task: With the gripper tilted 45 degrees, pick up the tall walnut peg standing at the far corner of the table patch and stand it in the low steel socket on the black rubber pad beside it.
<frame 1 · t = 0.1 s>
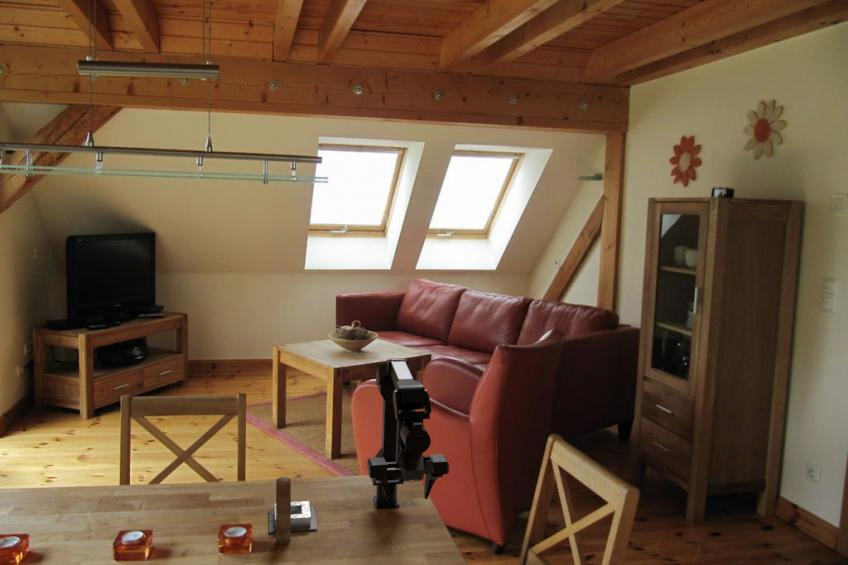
hand: (406, 499, 166), 14 cm above the table, tool pointing down, fingers open, 9 cm apart
steel socket: (292, 520, 184), on the table
walnut peg: (283, 541, 173), on the table
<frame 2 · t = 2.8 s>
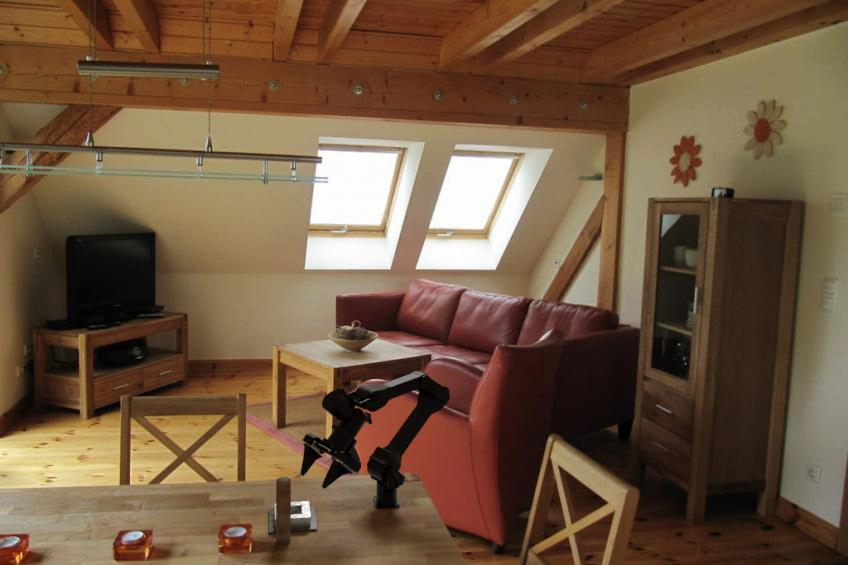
hand: (312, 481, 177), 13 cm above the table, tool tilted 45°, fingers open, 9 cm apart
nothing on the table moved.
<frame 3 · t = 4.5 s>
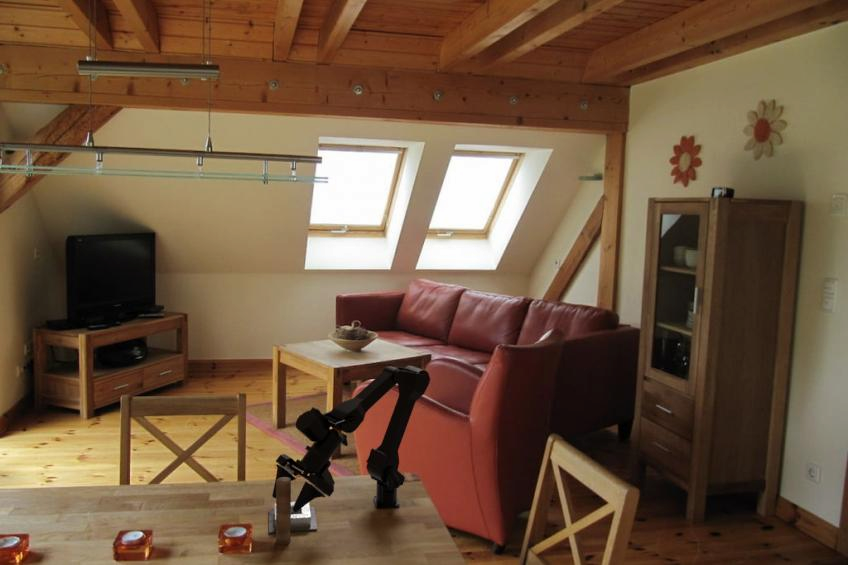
hand: (283, 504, 172), 10 cm above the table, tool tilted 45°, fingers open, 9 cm apart
nothing on the table moved.
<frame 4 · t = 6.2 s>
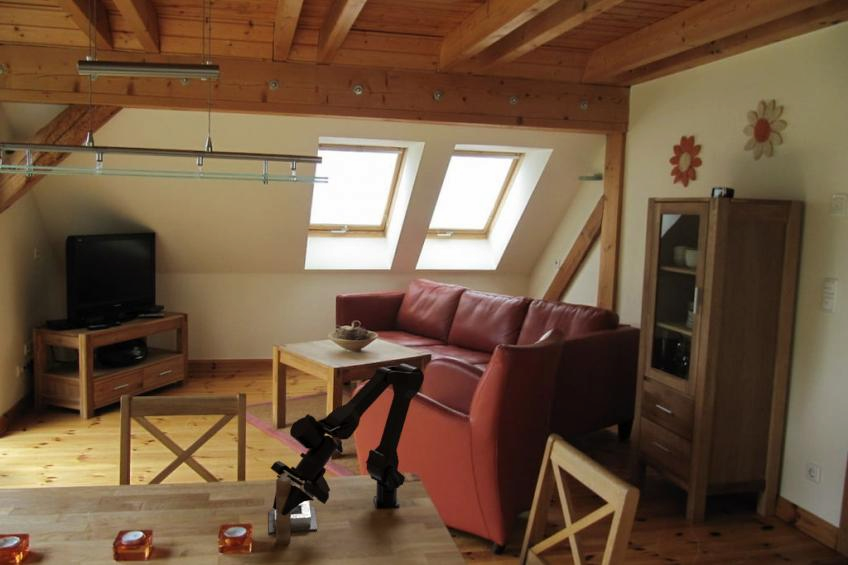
hand: (278, 511, 171), 8 cm above the table, tool tilted 45°, fingers closed on walnut peg, 3 cm apart
walnut peg: (283, 541, 173), on the table, touching gripper
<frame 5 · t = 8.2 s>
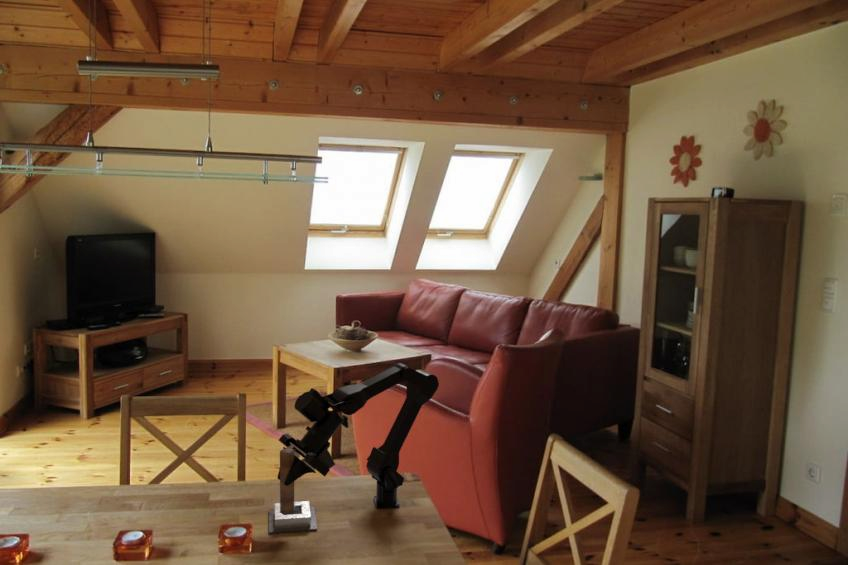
hand: (282, 482, 176), 13 cm above the table, tool tilted 45°, fingers closed on walnut peg, 3 cm apart
walnut peg: (287, 511, 178), point 5 cm above the table, touching gripper
when the fingers open (10 cm above the table, at t = 10.4 s): walnut peg stays where it is, resting on steel socket.
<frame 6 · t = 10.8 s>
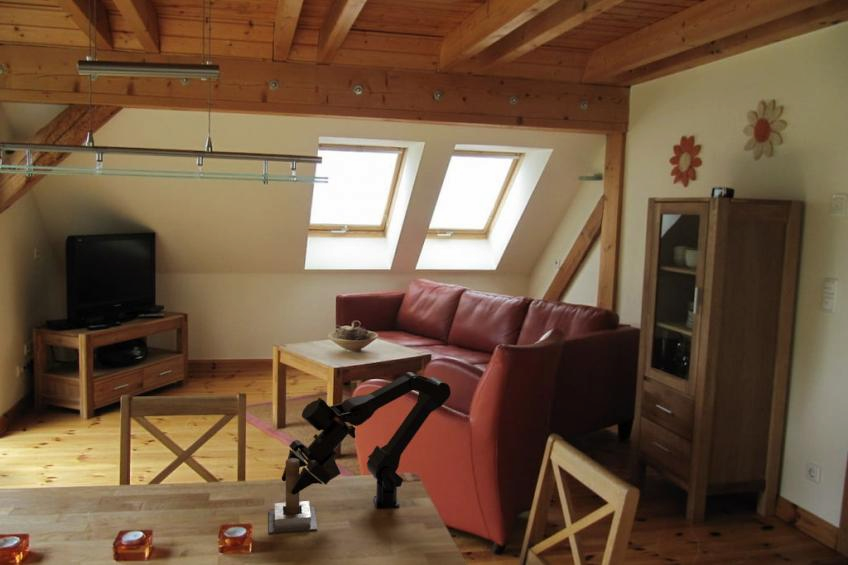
hand: (287, 486, 181), 10 cm above the table, tool tilted 45°, fingers open, 8 cm apart
walnut peg: (292, 518, 184), point 1 cm above the table, touching steel socket
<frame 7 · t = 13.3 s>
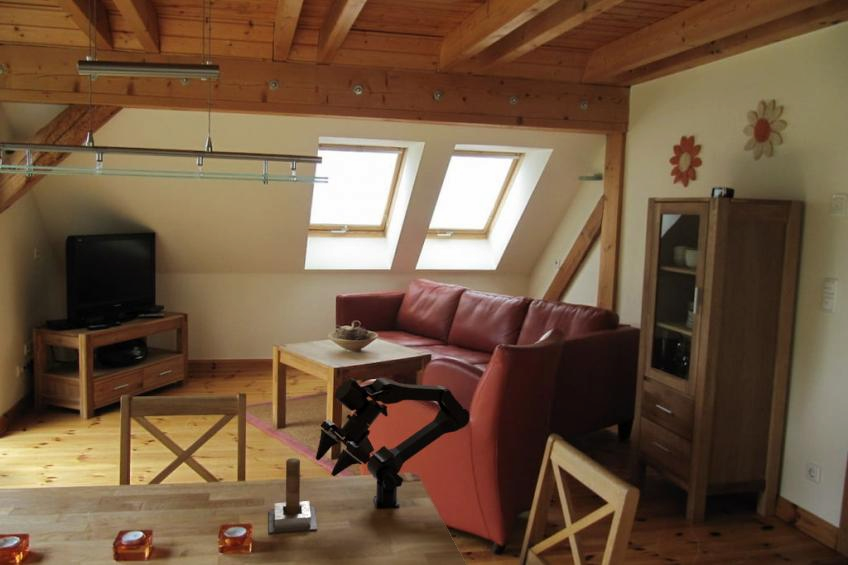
hand: (324, 467, 185), 13 cm above the table, tool tilted 40°, fingers open, 9 cm apart
nothing on the table moved.
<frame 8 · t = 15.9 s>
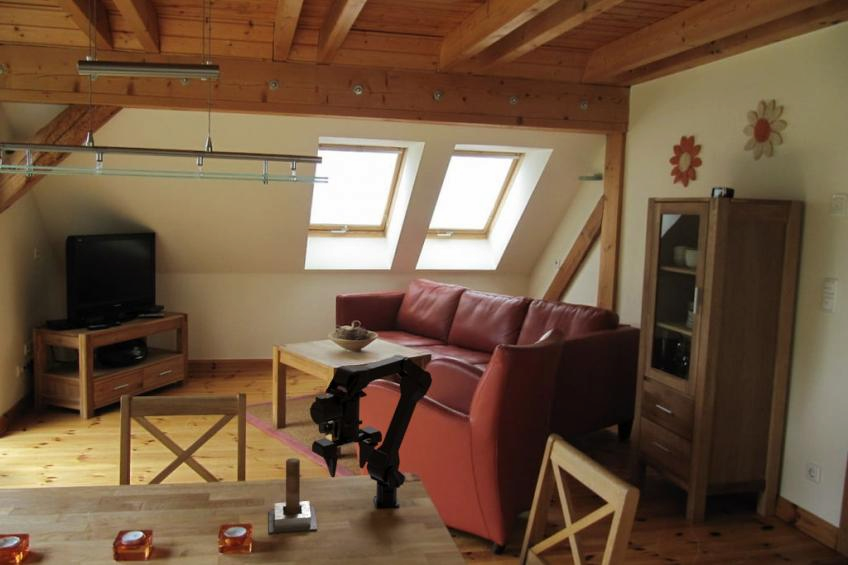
hand: (347, 472, 184), 13 cm above the table, tool pointing down, fingers open, 9 cm apart
nothing on the table moved.
at the end: walnut peg 0.1 cm off-centre on the steel socket, point 0.5 cm above the steel socket's base; walnut peg tilted 0°; the gripper is holding nothing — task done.
